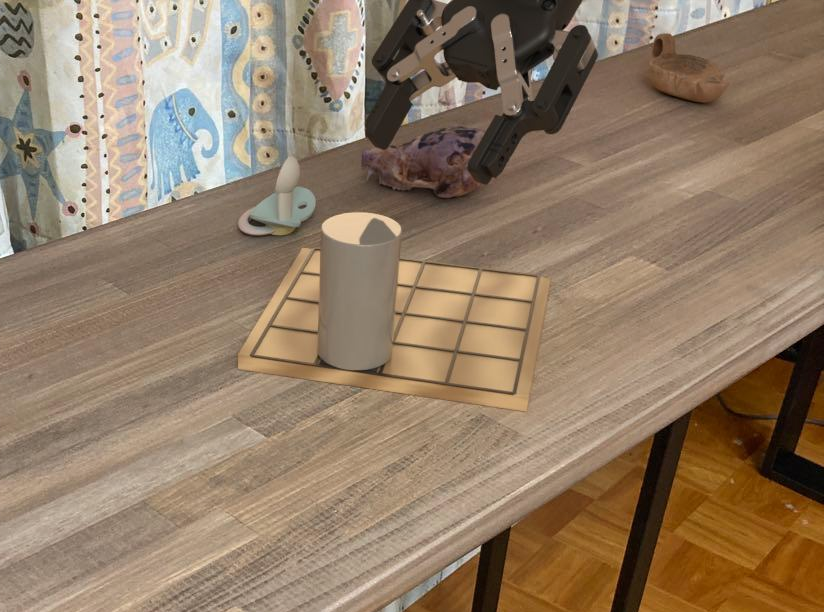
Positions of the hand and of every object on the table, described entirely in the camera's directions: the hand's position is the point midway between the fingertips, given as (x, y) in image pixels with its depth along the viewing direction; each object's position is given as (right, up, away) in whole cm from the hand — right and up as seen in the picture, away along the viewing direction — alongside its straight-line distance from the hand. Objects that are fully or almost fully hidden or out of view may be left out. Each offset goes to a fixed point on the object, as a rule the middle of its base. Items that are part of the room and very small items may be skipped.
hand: (423, 159), depth 73 cm
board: (0, -9, +10) cm, 14 cm away
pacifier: (-10, +2, +24) cm, 26 cm away
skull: (+4, +8, +32) cm, 33 cm away
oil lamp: (+35, +26, +54) cm, 69 cm away
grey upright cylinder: (-4, -12, +5) cm, 13 cm away
